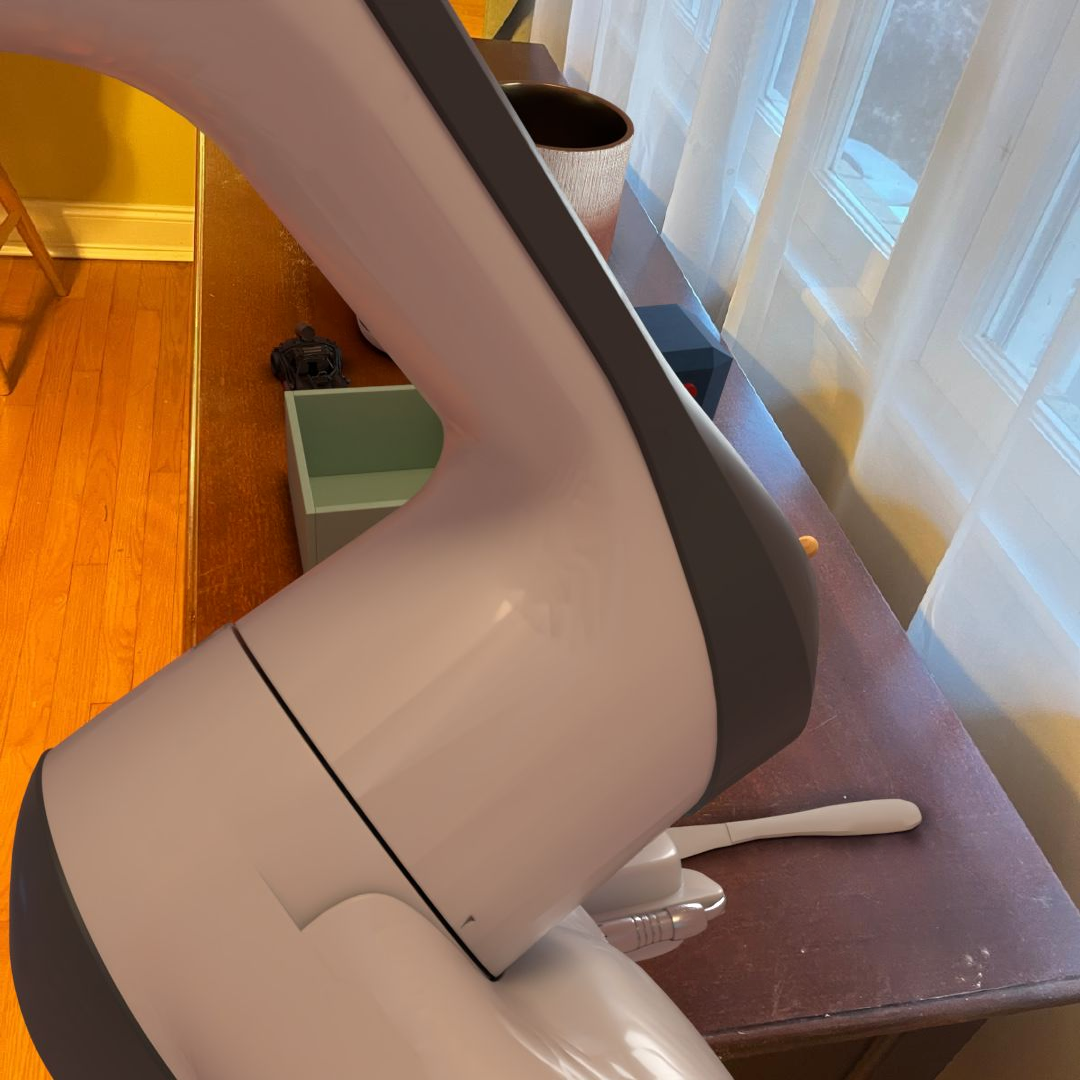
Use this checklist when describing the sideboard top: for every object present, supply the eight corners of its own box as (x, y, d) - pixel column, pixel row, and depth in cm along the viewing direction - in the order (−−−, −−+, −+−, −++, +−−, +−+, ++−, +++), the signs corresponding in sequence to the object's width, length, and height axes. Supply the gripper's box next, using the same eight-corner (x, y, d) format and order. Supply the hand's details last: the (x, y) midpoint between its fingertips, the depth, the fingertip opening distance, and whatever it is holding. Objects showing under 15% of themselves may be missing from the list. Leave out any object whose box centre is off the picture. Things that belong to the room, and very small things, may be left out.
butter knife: (933, 837, 62) (914, 794, 64) (511, 881, 56) (504, 832, 58) (929, 841, 62) (910, 798, 64) (510, 885, 57) (503, 837, 59)
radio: (481, 507, 79) (512, 285, 65) (448, 439, 84) (470, 221, 71) (706, 471, 86) (777, 265, 73) (662, 411, 92) (720, 209, 78)
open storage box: (308, 605, 69) (306, 514, 63) (288, 481, 78) (284, 390, 72) (490, 584, 73) (504, 496, 67) (451, 468, 82) (460, 381, 76)
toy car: (334, 351, 91) (334, 309, 88) (368, 430, 84) (370, 388, 81) (267, 357, 89) (264, 315, 86) (295, 439, 82) (294, 396, 79)
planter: (473, 303, 101) (489, 151, 90) (430, 219, 112) (440, 76, 101) (630, 295, 106) (664, 151, 96) (574, 216, 118) (598, 80, 107)
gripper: (741, 821, 34) (598, 745, 47) (92, 954, 28) (138, 823, 41) (758, 1003, 34) (611, 876, 47) (116, 1175, 28) (154, 974, 41)
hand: (387, 852), depth 44 cm, fingers open, 8 cm apart
